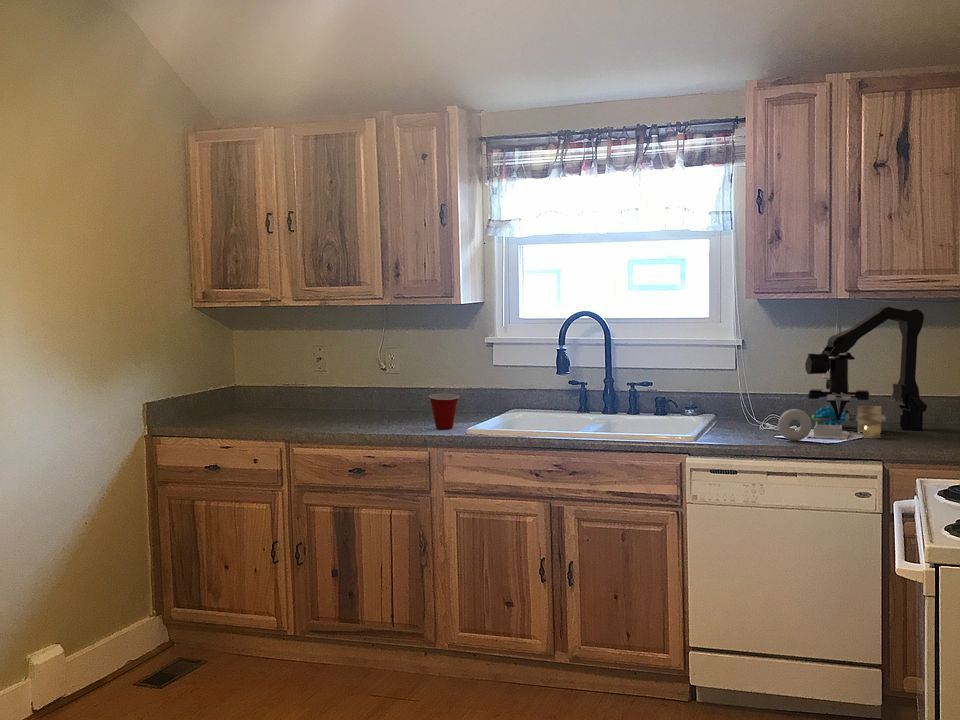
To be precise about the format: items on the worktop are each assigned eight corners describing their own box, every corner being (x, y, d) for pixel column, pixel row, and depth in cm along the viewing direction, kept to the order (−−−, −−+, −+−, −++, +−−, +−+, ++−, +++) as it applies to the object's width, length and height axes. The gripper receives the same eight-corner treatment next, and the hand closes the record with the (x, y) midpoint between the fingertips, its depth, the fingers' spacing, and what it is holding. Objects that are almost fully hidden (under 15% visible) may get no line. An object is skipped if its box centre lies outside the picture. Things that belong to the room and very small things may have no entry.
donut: (778, 441, 309) (778, 409, 309) (777, 439, 313) (777, 408, 312) (812, 442, 307) (812, 409, 306) (811, 440, 310) (811, 408, 310)
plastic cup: (436, 431, 345) (435, 397, 344) (424, 428, 355) (424, 394, 354) (464, 429, 350) (464, 395, 349) (453, 425, 360) (452, 392, 359)
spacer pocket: (848, 434, 322) (848, 424, 321) (847, 439, 311) (847, 429, 310) (809, 432, 326) (809, 423, 326) (806, 438, 315) (806, 428, 315)
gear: (848, 421, 342) (843, 402, 335) (849, 434, 338) (843, 416, 332) (815, 424, 347) (809, 406, 340) (815, 437, 343) (809, 419, 337)
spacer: (880, 437, 315) (880, 424, 314) (880, 439, 310) (880, 426, 310) (863, 436, 317) (863, 424, 316) (863, 438, 312) (863, 426, 312)
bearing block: (881, 430, 329) (881, 406, 328) (880, 433, 322) (881, 409, 321) (858, 429, 332) (858, 405, 331) (857, 432, 324) (857, 408, 324)
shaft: (885, 425, 327) (885, 409, 327) (885, 427, 322) (885, 411, 322) (845, 423, 332) (846, 408, 331) (845, 425, 327) (845, 410, 327)
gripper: (869, 371, 333) (869, 418, 334) (811, 371, 340) (811, 416, 341) (868, 374, 323) (868, 422, 324) (808, 373, 330) (808, 420, 331)
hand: (838, 420), depth 330 cm, fingers closed
